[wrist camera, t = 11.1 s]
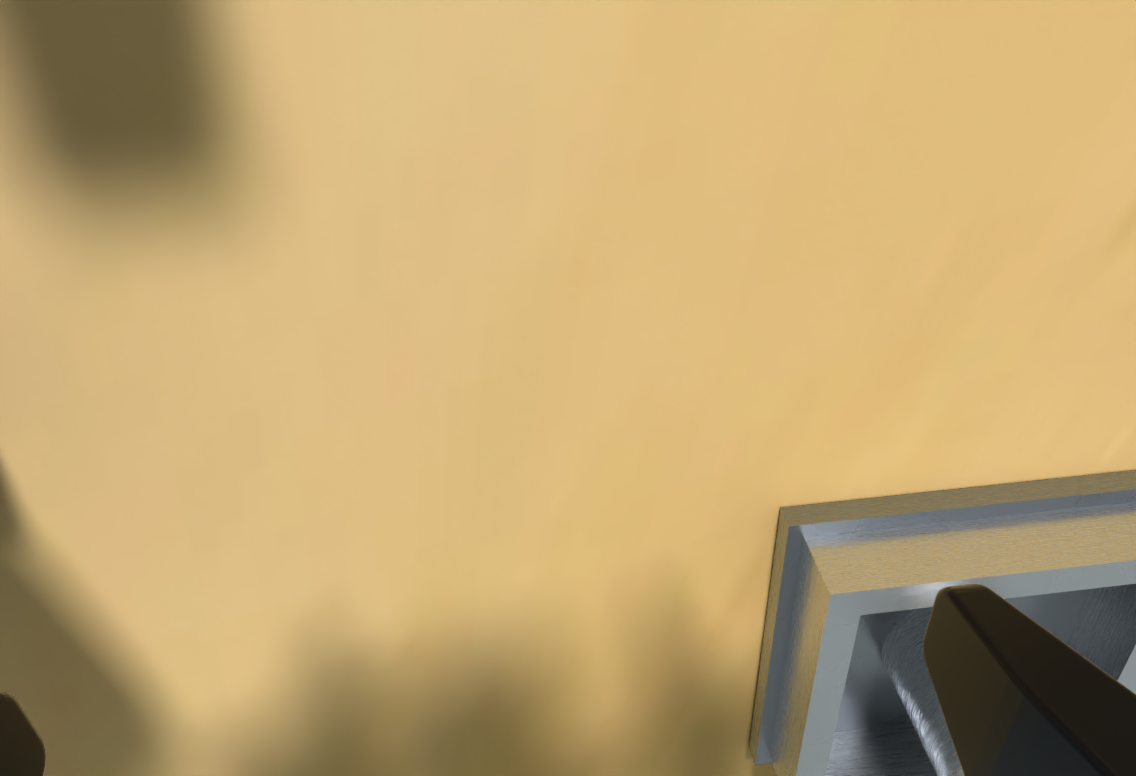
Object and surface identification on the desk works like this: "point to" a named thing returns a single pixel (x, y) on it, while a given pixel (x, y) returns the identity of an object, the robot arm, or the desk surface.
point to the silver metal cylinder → (919, 690)
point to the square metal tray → (928, 604)
